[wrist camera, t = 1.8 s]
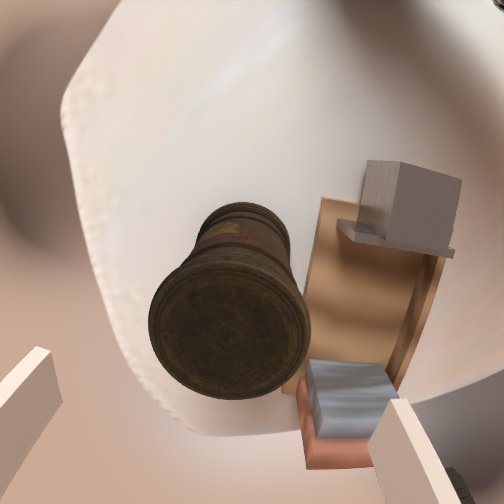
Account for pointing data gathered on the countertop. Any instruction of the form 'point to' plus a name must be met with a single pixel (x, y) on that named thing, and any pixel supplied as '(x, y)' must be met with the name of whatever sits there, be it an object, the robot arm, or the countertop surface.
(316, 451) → the rack
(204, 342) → the container
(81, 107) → the countertop surface
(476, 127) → the countertop surface
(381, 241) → the bookend
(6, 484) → the robot arm
